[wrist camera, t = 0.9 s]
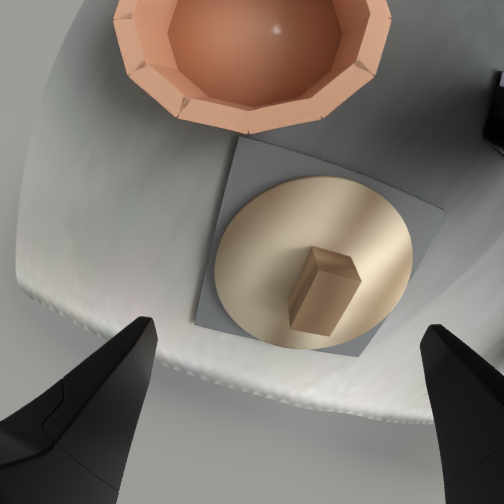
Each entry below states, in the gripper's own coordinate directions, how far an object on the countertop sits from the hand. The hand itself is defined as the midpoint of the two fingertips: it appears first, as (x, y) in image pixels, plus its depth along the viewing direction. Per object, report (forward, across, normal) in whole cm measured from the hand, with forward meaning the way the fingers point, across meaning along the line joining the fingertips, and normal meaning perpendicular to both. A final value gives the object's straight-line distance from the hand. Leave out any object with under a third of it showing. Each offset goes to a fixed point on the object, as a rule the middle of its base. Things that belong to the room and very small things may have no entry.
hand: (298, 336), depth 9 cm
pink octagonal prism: (+12, +2, -11) cm, 17 cm away
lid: (+12, -3, +6) cm, 14 cm away
